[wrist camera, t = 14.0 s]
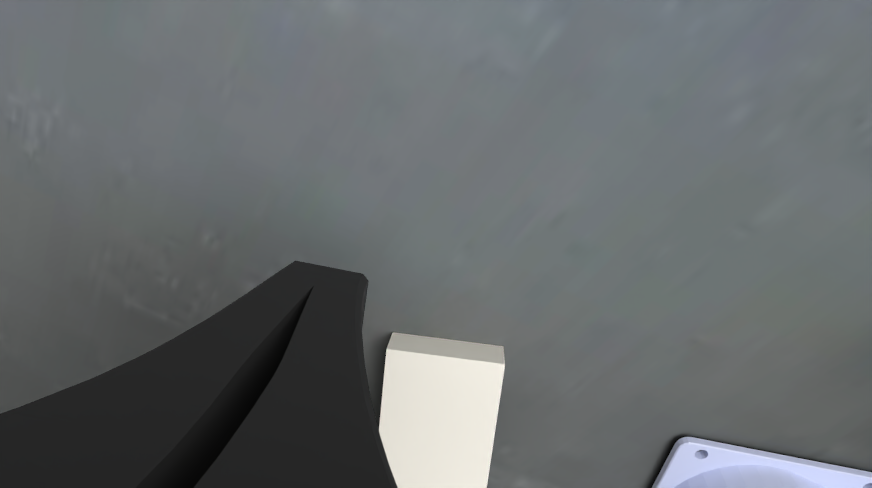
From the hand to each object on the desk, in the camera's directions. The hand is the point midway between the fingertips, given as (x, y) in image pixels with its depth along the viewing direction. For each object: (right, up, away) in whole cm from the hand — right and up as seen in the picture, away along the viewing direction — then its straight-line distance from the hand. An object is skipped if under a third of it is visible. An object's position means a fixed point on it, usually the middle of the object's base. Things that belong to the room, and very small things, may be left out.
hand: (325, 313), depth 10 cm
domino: (+2, -3, +12) cm, 12 cm away
